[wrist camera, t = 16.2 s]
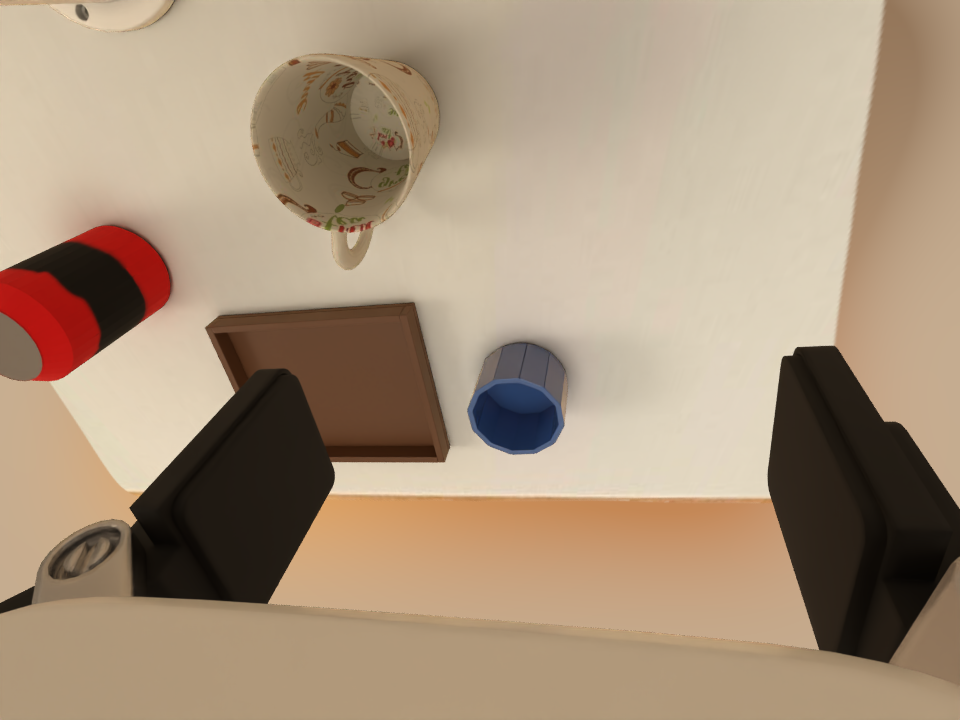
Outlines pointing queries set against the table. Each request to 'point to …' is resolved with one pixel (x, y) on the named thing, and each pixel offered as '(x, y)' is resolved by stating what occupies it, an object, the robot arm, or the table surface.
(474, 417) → the bowl
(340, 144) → the mug
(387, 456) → the tray
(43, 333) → the soda can
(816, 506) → the robot arm
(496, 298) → the table surface
